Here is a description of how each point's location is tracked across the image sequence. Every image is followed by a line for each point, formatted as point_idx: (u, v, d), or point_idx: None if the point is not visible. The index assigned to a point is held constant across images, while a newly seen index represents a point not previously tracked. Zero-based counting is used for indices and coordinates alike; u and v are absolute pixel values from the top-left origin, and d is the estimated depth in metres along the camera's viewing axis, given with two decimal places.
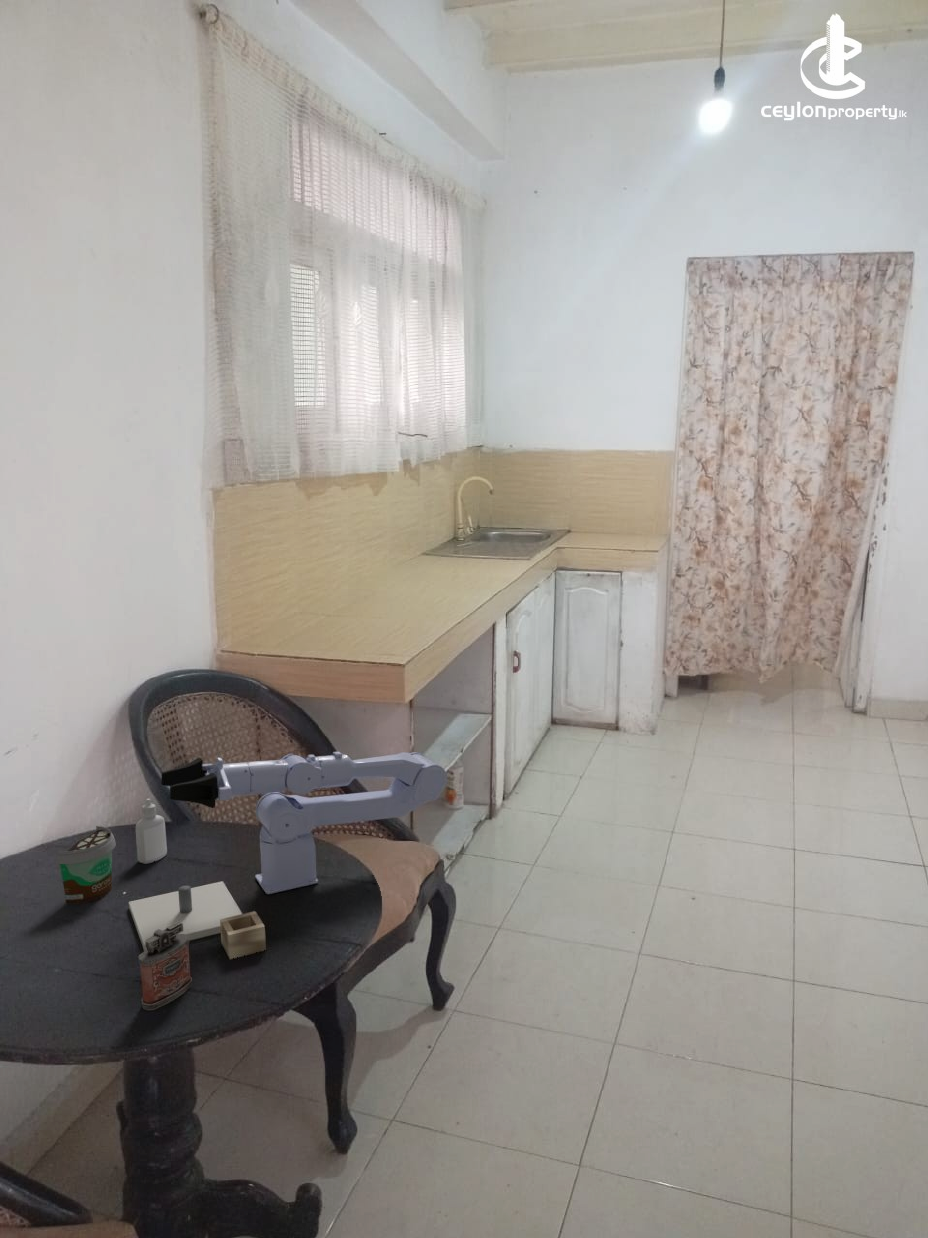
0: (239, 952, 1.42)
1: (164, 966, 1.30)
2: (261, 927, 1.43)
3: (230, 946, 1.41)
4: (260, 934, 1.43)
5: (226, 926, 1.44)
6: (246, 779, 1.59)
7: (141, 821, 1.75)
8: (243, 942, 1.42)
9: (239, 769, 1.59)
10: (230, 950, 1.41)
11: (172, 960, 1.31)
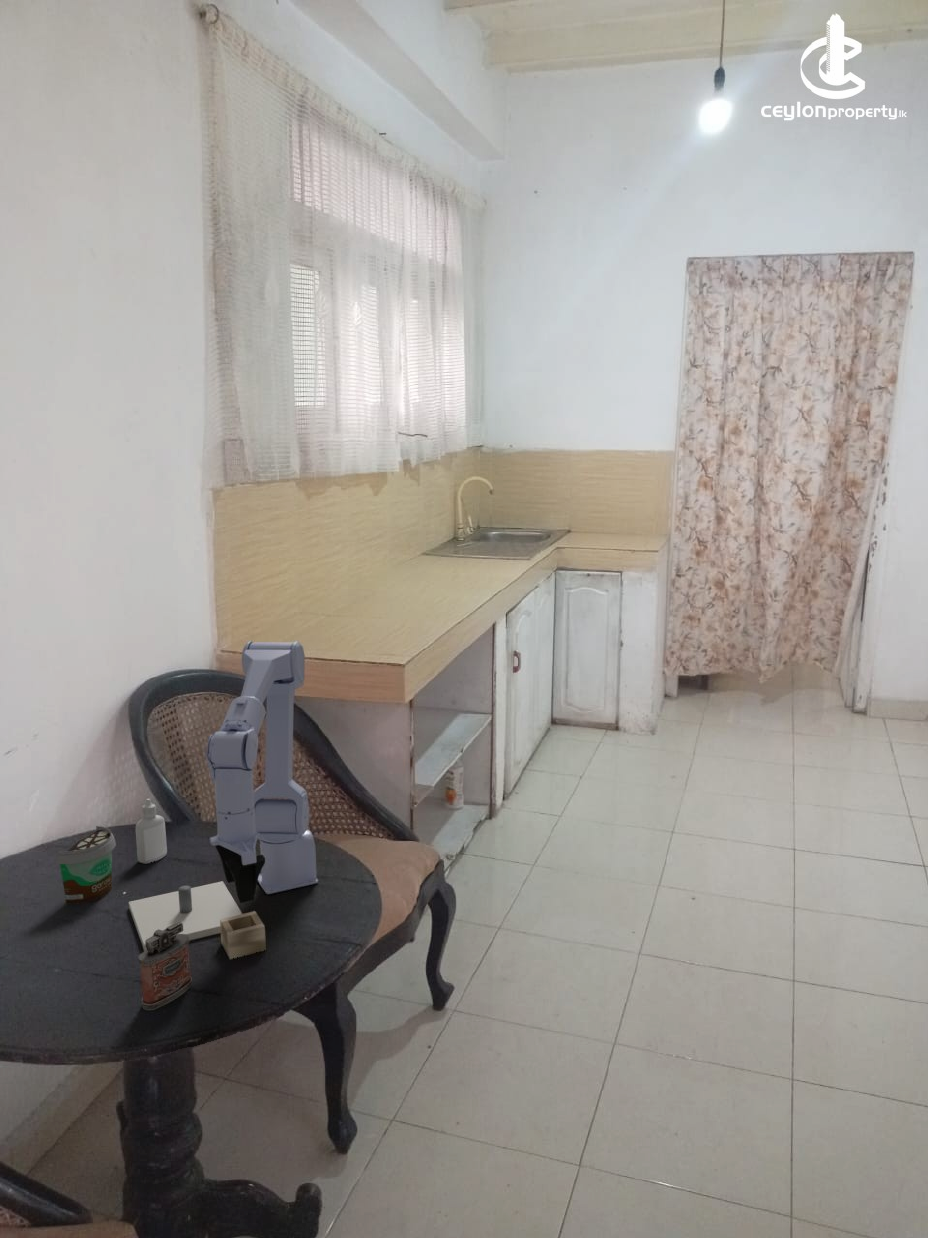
0: (239, 952, 1.42)
1: (164, 966, 1.30)
2: (261, 927, 1.43)
3: (230, 946, 1.41)
4: (260, 934, 1.43)
5: (226, 926, 1.44)
6: (235, 818, 1.39)
7: (141, 821, 1.75)
8: (243, 942, 1.42)
9: (223, 824, 1.39)
10: (230, 950, 1.41)
11: (172, 960, 1.31)
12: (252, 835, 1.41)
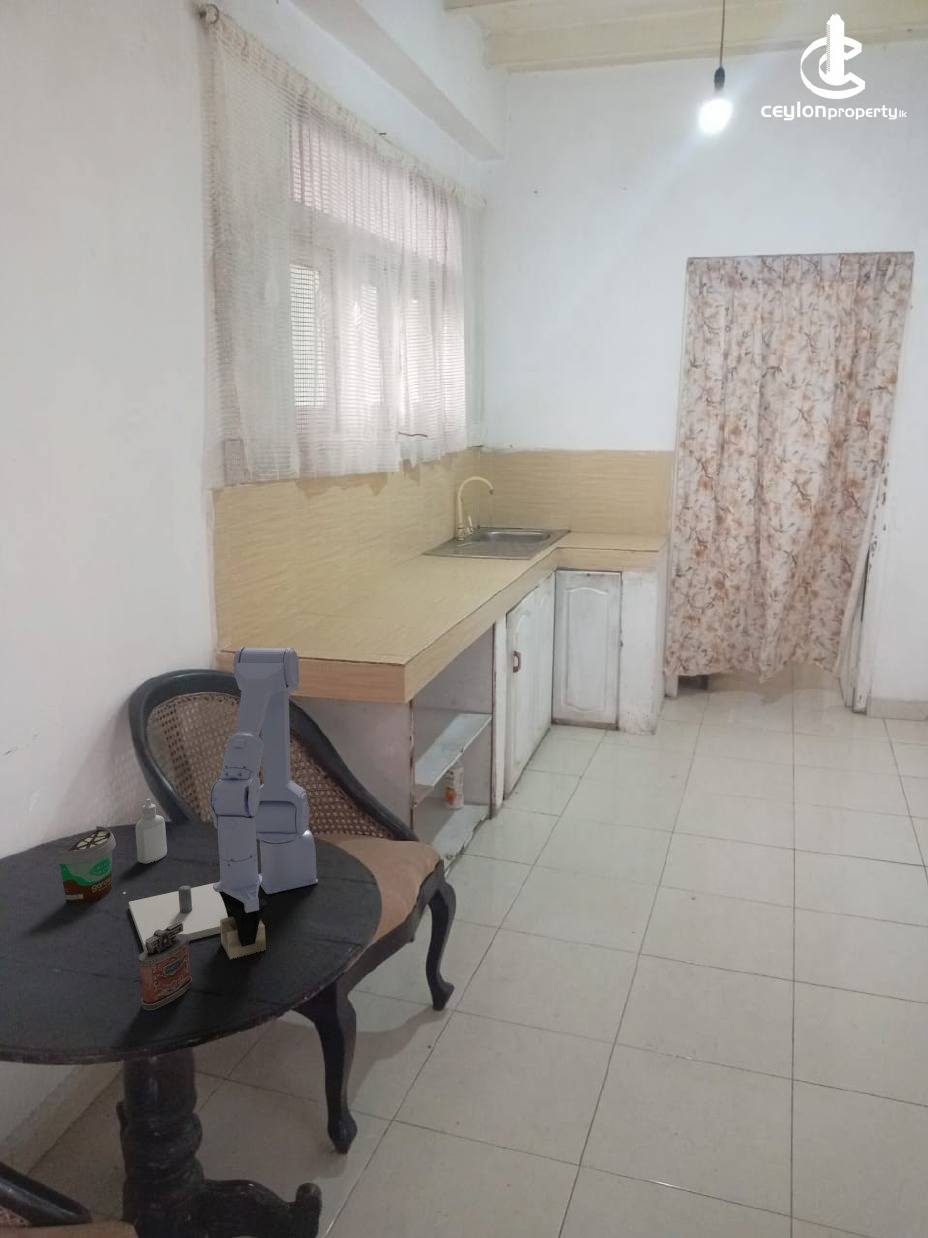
0: (239, 952, 1.42)
1: (164, 966, 1.30)
2: (261, 927, 1.43)
3: (230, 946, 1.41)
4: (260, 934, 1.43)
5: (226, 926, 1.44)
6: (237, 865, 1.40)
7: (141, 821, 1.75)
8: None
9: (226, 871, 1.40)
10: (230, 950, 1.41)
11: (172, 960, 1.31)
12: (255, 881, 1.42)
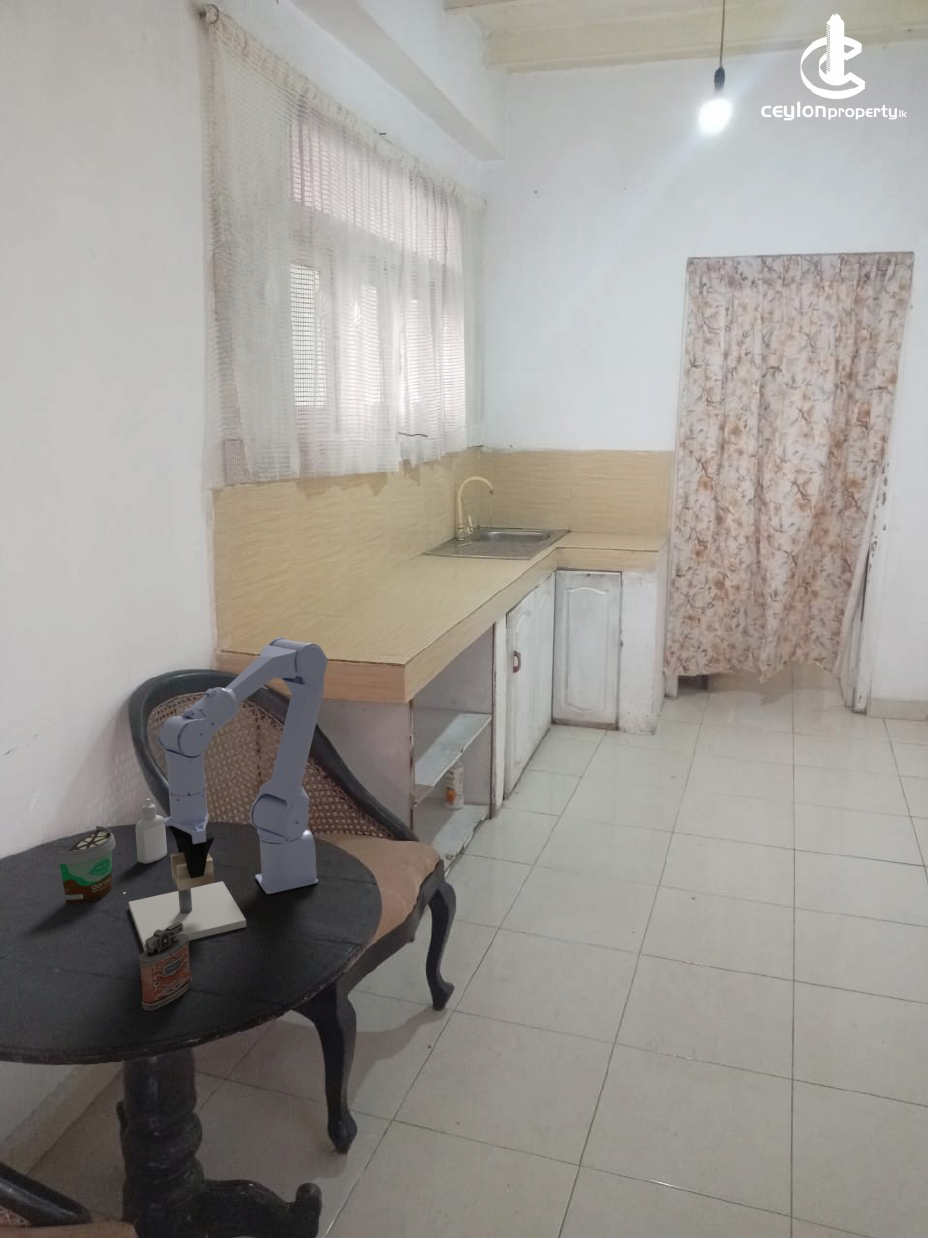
0: (188, 884, 1.49)
1: (164, 966, 1.30)
2: (209, 860, 1.50)
3: (179, 878, 1.48)
4: (208, 867, 1.50)
5: (176, 860, 1.50)
6: (186, 800, 1.47)
7: (141, 821, 1.75)
8: None
9: (175, 806, 1.47)
10: (179, 882, 1.48)
11: (172, 960, 1.31)
12: (203, 816, 1.49)
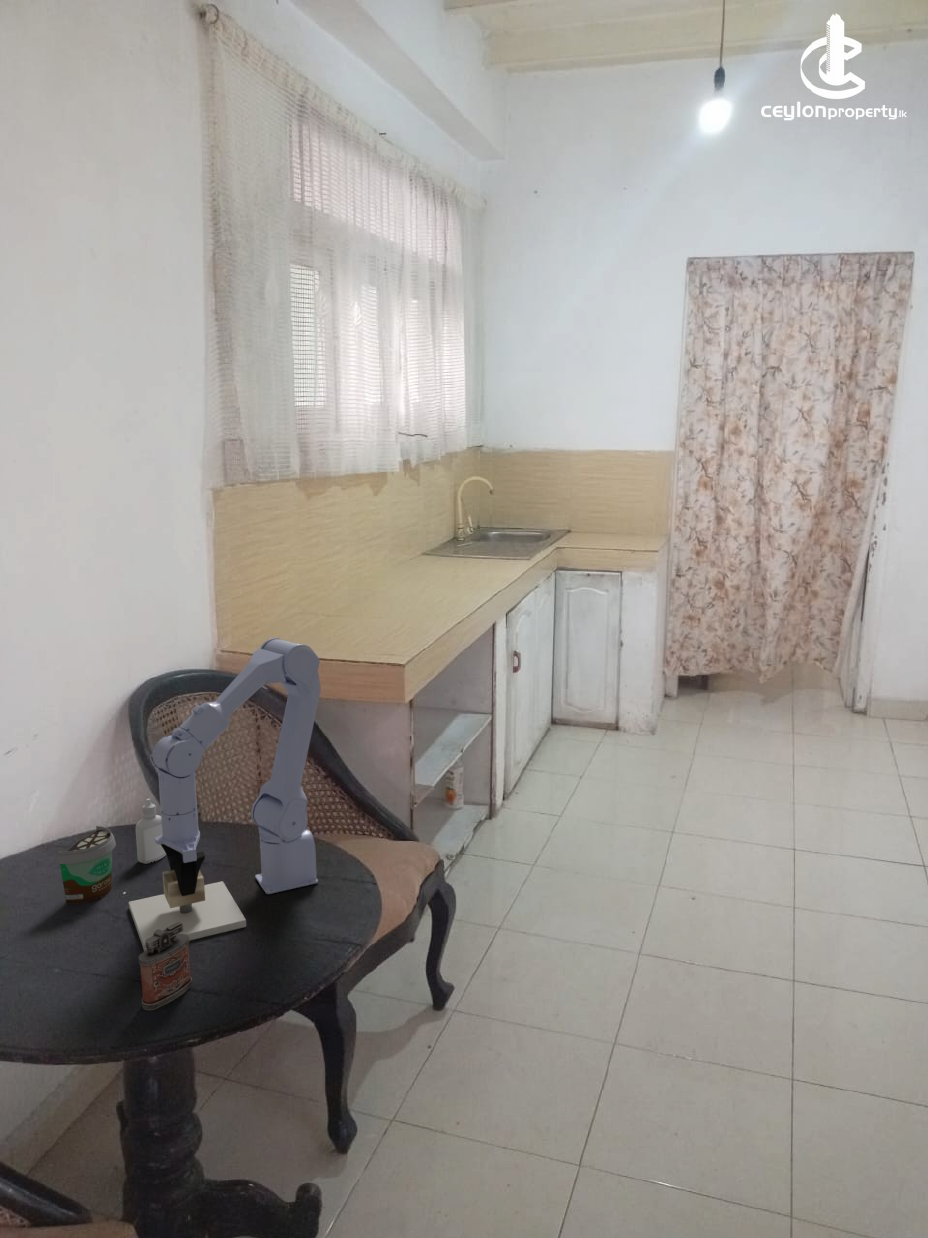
0: (179, 902, 1.51)
1: (164, 966, 1.30)
2: (200, 878, 1.52)
3: (170, 896, 1.50)
4: (199, 885, 1.52)
5: (167, 877, 1.52)
6: (177, 819, 1.49)
7: (141, 821, 1.75)
8: None
9: (167, 825, 1.49)
10: (170, 899, 1.50)
11: (172, 960, 1.31)
12: (194, 835, 1.51)
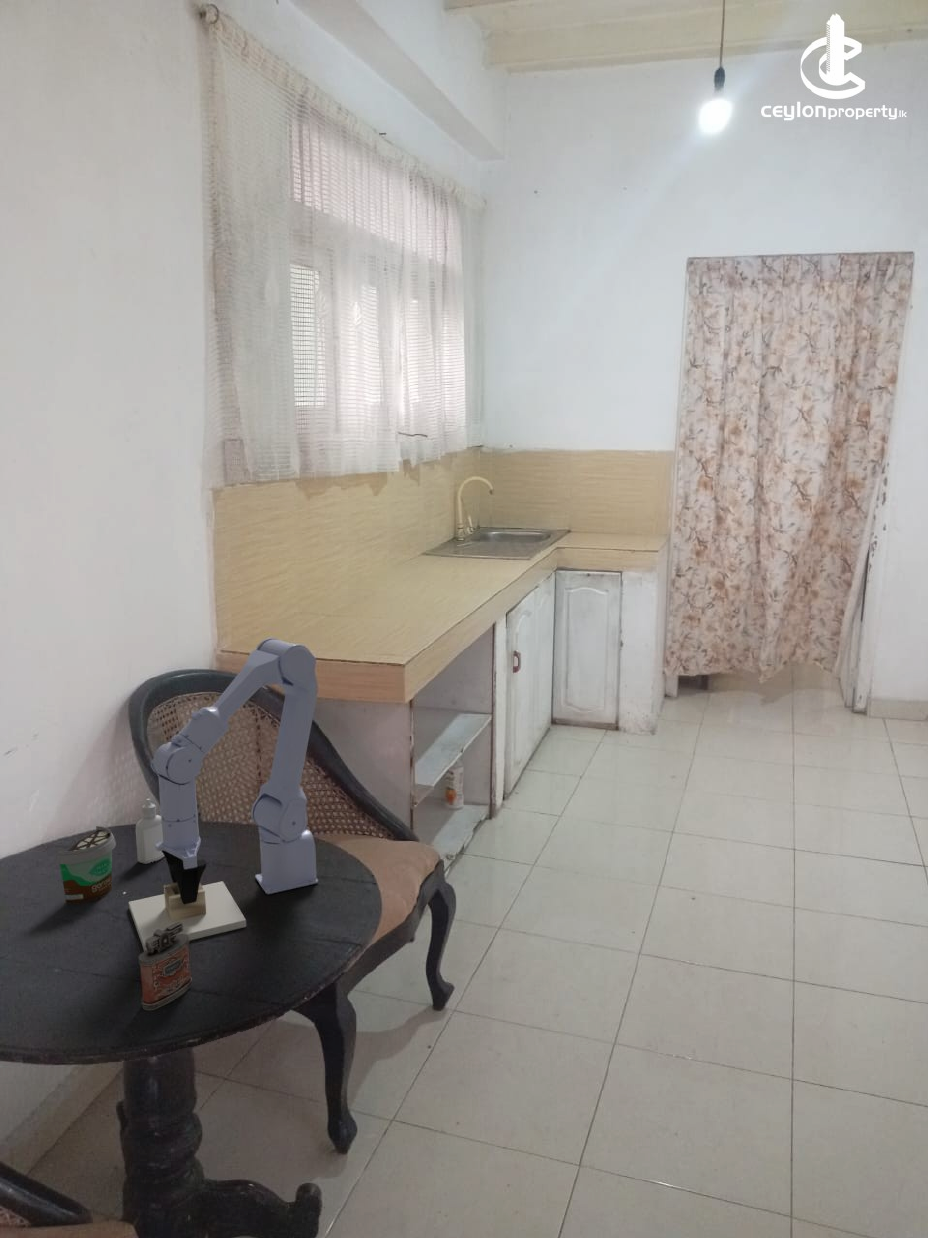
0: (180, 915, 1.51)
1: (164, 966, 1.30)
2: (201, 892, 1.53)
3: (171, 909, 1.51)
4: (200, 898, 1.53)
5: (168, 891, 1.53)
6: (178, 826, 1.49)
7: (141, 821, 1.75)
8: (184, 905, 1.52)
9: (167, 831, 1.50)
10: (171, 913, 1.51)
11: (172, 960, 1.31)
12: (195, 841, 1.51)
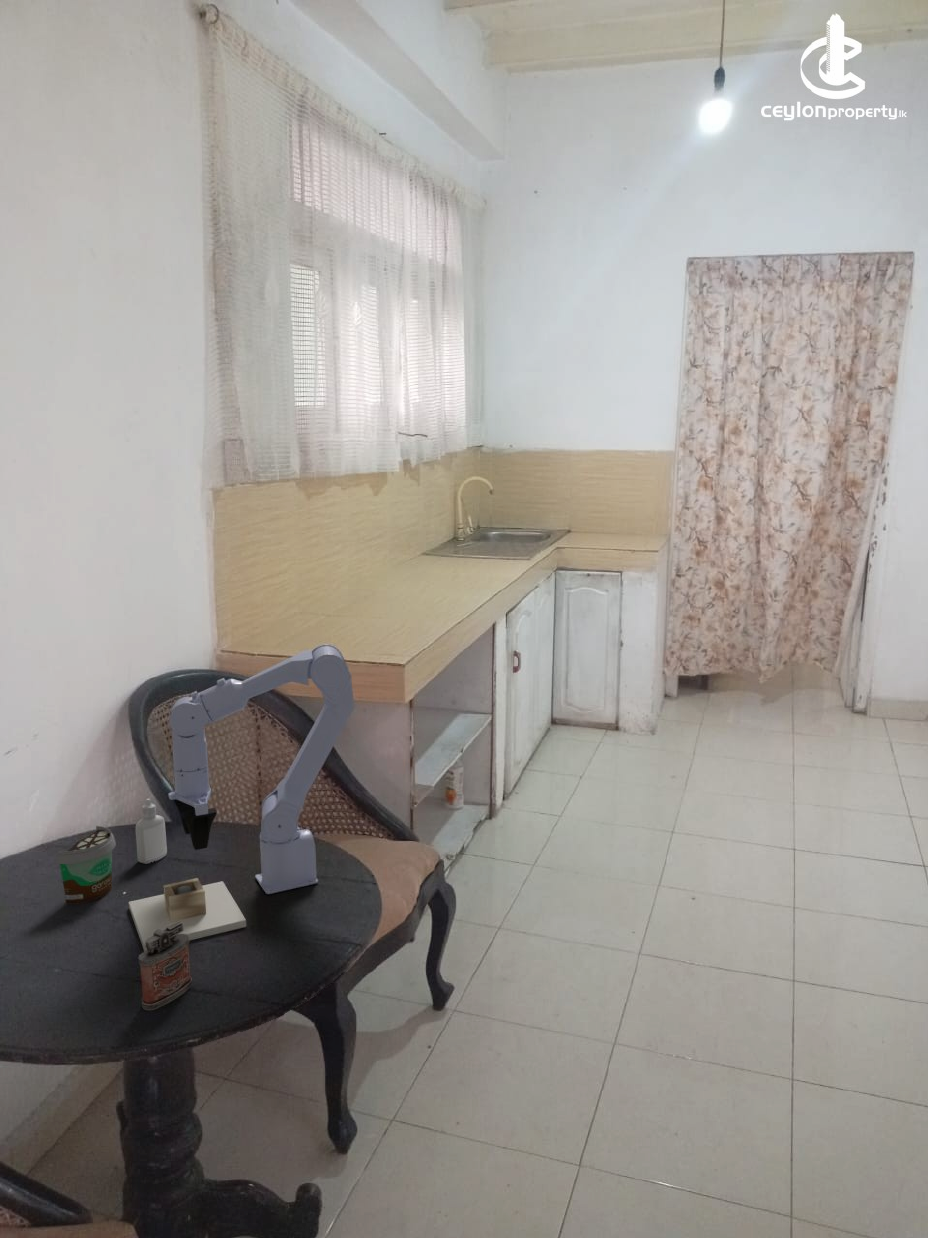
0: (180, 915, 1.51)
1: (164, 966, 1.30)
2: (201, 892, 1.53)
3: (171, 909, 1.51)
4: (200, 898, 1.53)
5: (168, 891, 1.53)
6: (190, 776, 1.58)
7: (141, 821, 1.75)
8: (184, 905, 1.52)
9: (179, 781, 1.58)
10: (171, 913, 1.51)
11: (172, 960, 1.31)
12: (205, 791, 1.60)
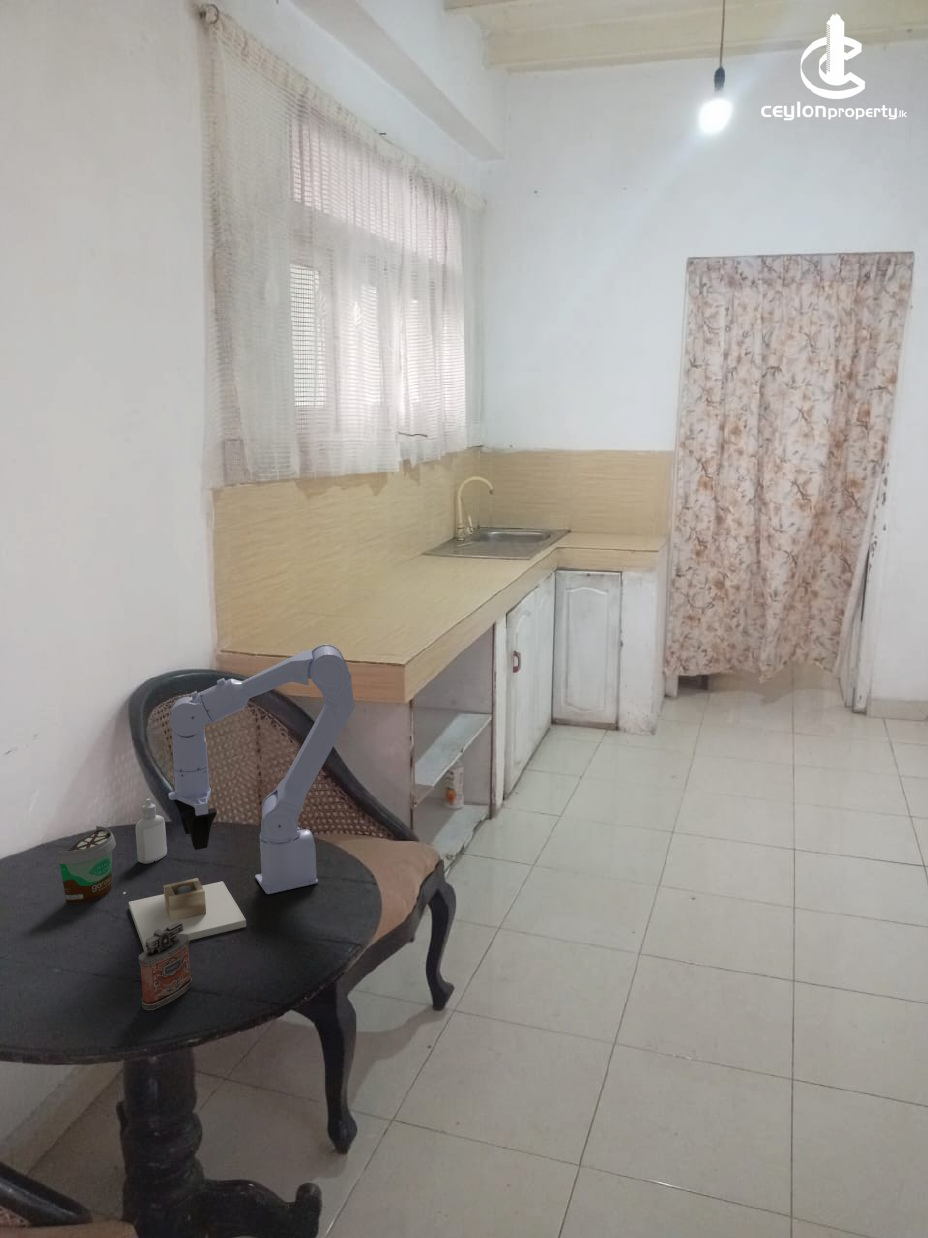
0: (180, 915, 1.51)
1: (165, 966, 1.30)
2: (201, 892, 1.53)
3: (171, 909, 1.51)
4: (200, 898, 1.53)
5: (168, 891, 1.53)
6: (190, 776, 1.58)
7: (141, 821, 1.75)
8: (184, 905, 1.52)
9: (179, 781, 1.58)
10: (171, 913, 1.51)
11: (172, 960, 1.31)
12: (205, 791, 1.60)
